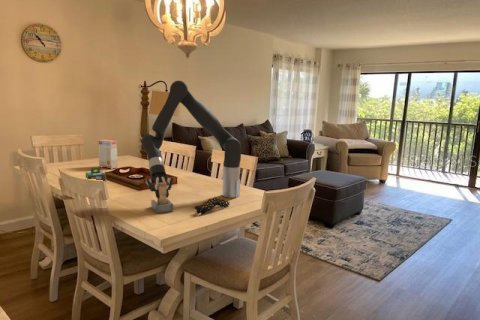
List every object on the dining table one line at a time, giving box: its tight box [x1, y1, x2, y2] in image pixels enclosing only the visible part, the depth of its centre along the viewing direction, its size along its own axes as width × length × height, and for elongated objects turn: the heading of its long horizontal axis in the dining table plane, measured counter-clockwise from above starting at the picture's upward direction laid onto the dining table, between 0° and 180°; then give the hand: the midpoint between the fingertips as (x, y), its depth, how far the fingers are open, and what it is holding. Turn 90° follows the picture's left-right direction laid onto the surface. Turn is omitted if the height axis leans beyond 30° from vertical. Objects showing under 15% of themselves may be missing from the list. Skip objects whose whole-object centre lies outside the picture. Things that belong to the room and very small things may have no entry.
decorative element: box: [194, 196, 230, 216], centre depth 175 cm, size 22×5×6 cm, turn 141°
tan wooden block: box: [156, 182, 167, 205], centre depth 172 cm, size 4×4×11 cm
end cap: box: [150, 198, 174, 214], centre depth 173 cm, size 11×8×4 cm
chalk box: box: [85, 166, 107, 182], centre depth 196 cm, size 9×9×15 cm
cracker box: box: [98, 138, 118, 169], centre depth 264 cm, size 14×6×21 cm, turn 58°
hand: (162, 197), depth 171 cm, fingers closed on tan wooden block, 3 cm apart
